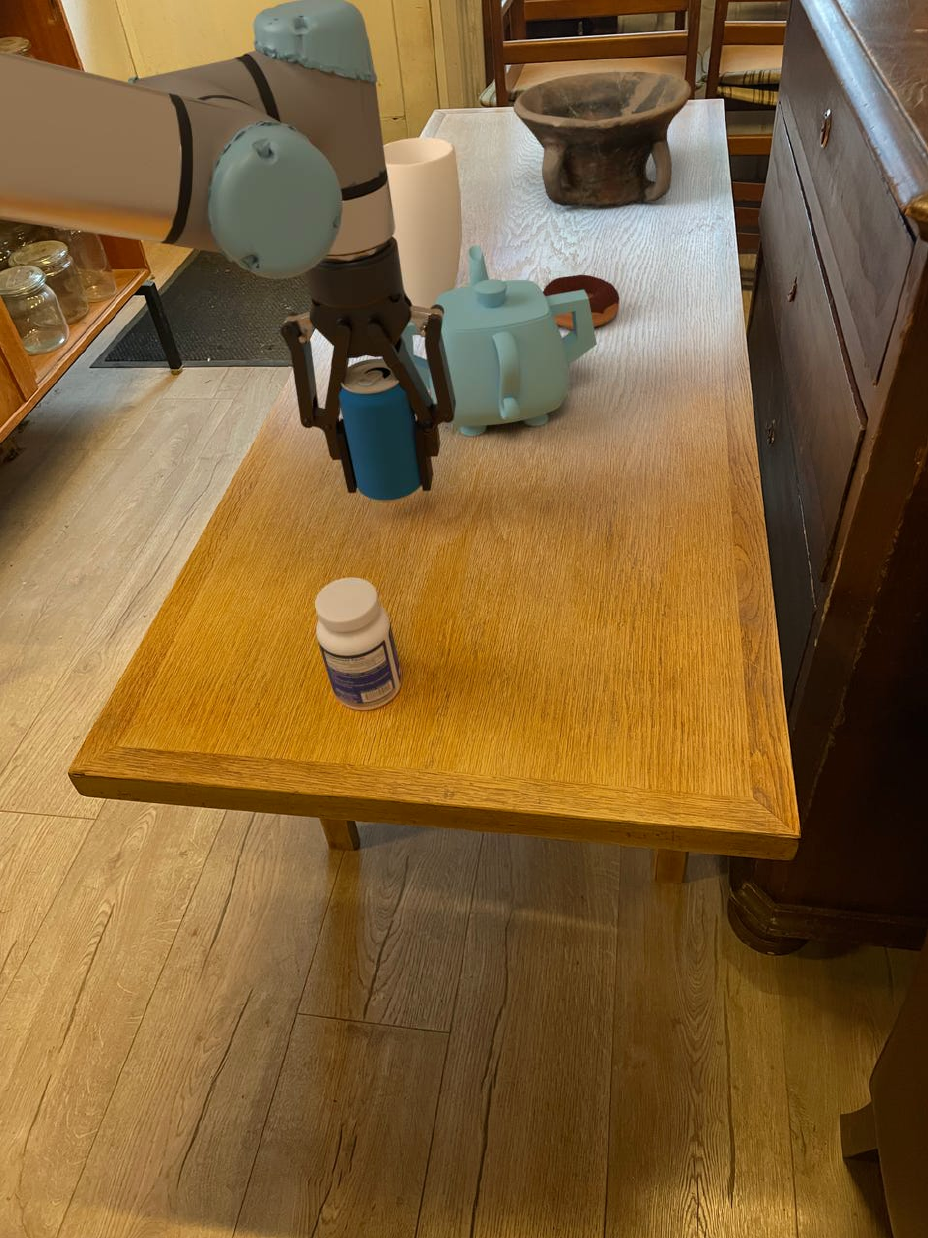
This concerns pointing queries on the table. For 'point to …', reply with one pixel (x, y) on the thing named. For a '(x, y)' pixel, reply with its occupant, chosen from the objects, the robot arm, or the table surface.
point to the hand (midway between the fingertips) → (391, 483)
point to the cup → (425, 215)
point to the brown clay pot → (604, 135)
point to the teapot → (506, 348)
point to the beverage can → (380, 432)
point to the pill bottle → (357, 644)
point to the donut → (598, 293)
